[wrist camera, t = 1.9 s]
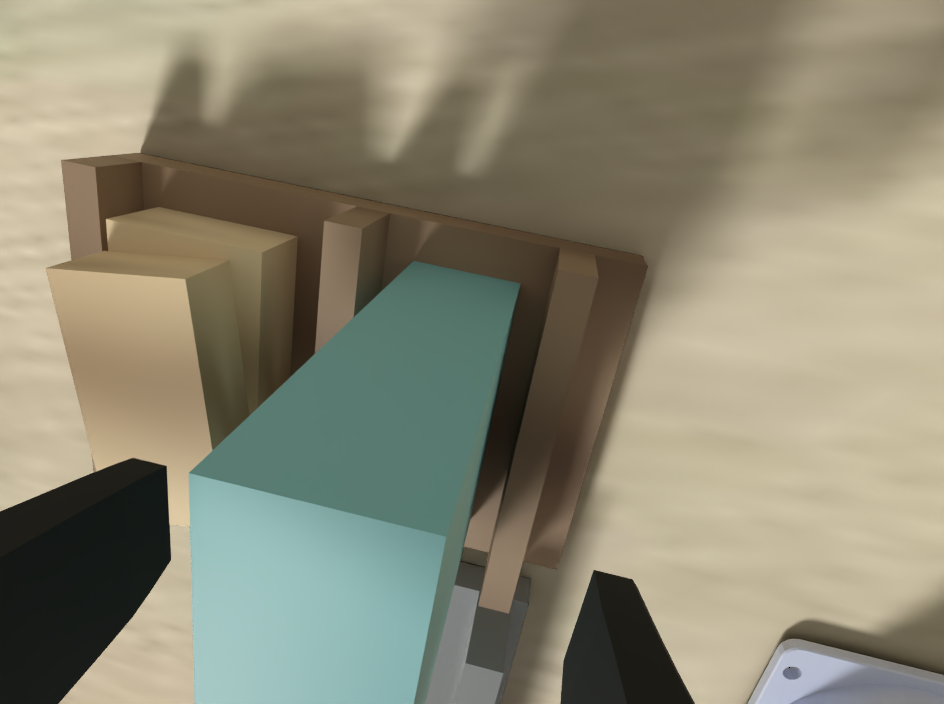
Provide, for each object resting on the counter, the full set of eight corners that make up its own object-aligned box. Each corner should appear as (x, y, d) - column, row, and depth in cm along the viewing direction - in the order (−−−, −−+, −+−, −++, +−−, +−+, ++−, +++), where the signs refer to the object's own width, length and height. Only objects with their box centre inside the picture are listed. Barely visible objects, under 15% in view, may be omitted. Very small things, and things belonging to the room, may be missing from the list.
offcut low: (285, 474, 17) (254, 513, 15) (168, 445, 17) (126, 480, 16) (297, 236, 14) (261, 252, 13) (158, 207, 14) (106, 219, 13)
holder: (480, 760, 22) (464, 871, 19) (301, 711, 22) (255, 811, 19) (531, 579, 18) (522, 677, 15) (316, 525, 19) (264, 610, 16)
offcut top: (258, 490, 15) (225, 531, 14) (151, 477, 15) (107, 515, 14) (229, 260, 13) (185, 278, 11) (104, 250, 13) (45, 268, 12)
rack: (557, 545, 18) (555, 625, 15) (154, 447, 19) (81, 504, 16) (642, 256, 14) (660, 290, 11) (138, 152, 15) (42, 162, 12)
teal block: (470, 519, 17) (371, 921, 8) (381, 497, 17) (198, 869, 9) (520, 283, 14) (446, 537, 6) (413, 260, 14) (188, 472, 6)
